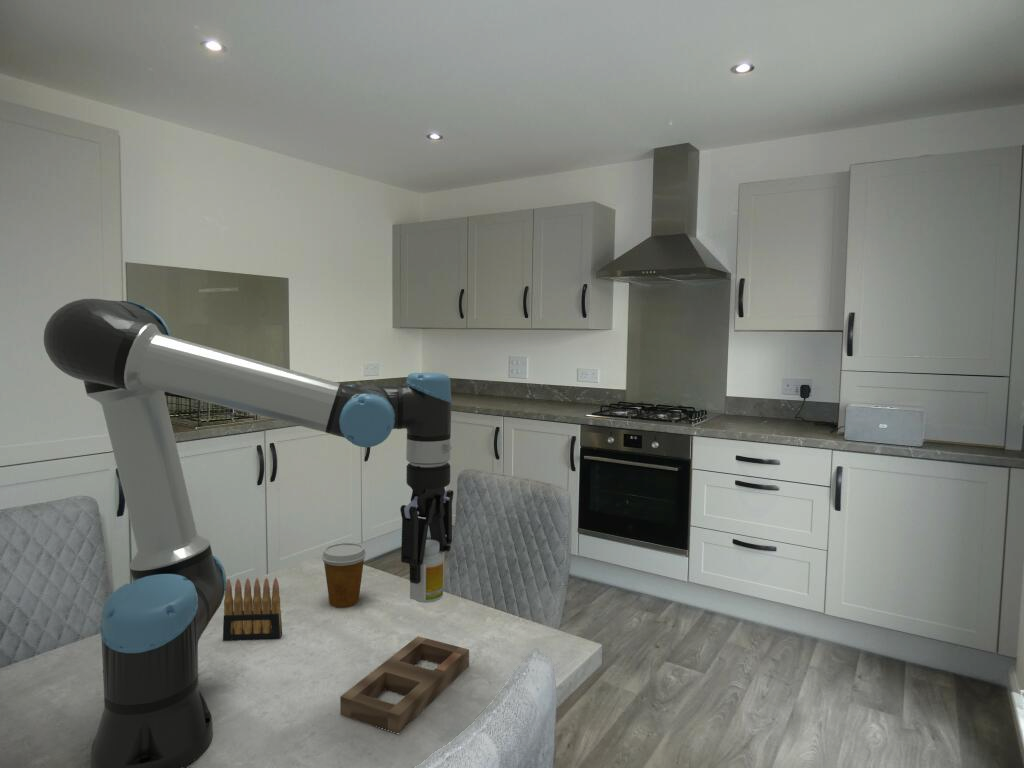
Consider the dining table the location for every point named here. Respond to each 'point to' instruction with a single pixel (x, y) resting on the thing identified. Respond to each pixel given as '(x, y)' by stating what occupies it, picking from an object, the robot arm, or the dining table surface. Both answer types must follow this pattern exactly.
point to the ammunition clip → (252, 612)
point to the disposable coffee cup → (343, 573)
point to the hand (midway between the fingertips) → (427, 592)
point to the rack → (404, 684)
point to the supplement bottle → (433, 571)
